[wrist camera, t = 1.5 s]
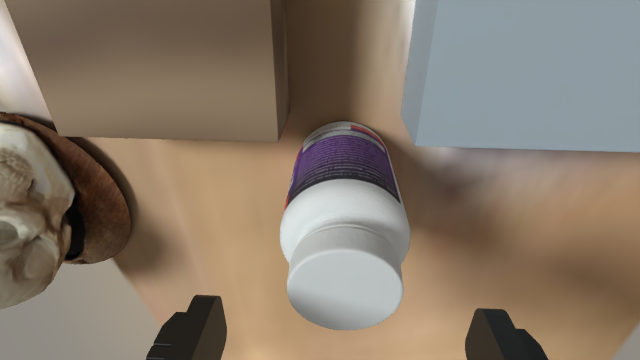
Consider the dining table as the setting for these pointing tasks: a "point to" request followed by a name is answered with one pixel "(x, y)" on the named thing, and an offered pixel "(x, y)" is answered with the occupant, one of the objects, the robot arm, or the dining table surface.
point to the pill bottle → (344, 229)
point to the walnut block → (159, 67)
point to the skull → (52, 208)
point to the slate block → (525, 75)
